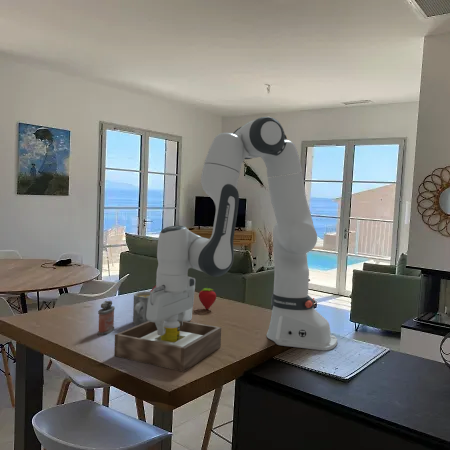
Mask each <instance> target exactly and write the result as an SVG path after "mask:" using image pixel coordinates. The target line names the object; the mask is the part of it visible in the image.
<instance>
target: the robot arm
mask: <svg viewBox="0 0 450 450" xmlns="http://www.w3.org/2000/svg"><path fill="white" fill-rule="evenodd" d="M255 158H261V160H263V162H264V165H265V167H266V175H267V182H268V184H267V185H268V189H269V191H268V192H269V196H270V203H271V205H272V208H273V212H274V215H275V220H276V223H275V224H274V226H273V229H272V247H273V263H274V265H273V266H274V276H273V277H274V279H273V280H274V281H273V292H272V295H271V301H270V302H271V303H270V305H271V315H270V316H271V318H270V322H269V326H268V330H267V333H266V337H267V338H268V339H269V340H271V341H272V342H274V343H275V344H276V345H278V346H284V347H291V348H292V347H293V348H300V349H301V348H302V349H310V350H319V351H331V350H332V349H334V348H335V347H336V346H337V345H338V338H337V337H336V336H335V335H333V334H331V327H330V323H329V321H328V320H327V319H326V317H324V316H323V315H321V313H320V312H318V311H317V310H316V309H315V308H314V305H315V297H311V296H310V295H309V280H310V270H309V265H308V259H307V257H308V256H307V253H309V252H311V251H313V249H314V248H315V247H316V245H317V242H318V233H317V231H316V228H315V226H314V221H313V218H312V217H313V216H312V214H311V211H310V207H309V204H308V200H307V195H306V189H305V183H304V176H303V169H302V168H303V167H302V165H301V159H300V156H299V152H298V150H297V147H296V145H295V143H294V142H292V141H291V140H288V138H287V135H286V134H285V131H284V128H283V126H282V124H281V123H280V122H279V120H277V119H276V118H274V117H270V116H263V117H258V118H256V119H253V120H250V121H248V122H247V123H245V124H244V125H242V126H240V127H237V129H236V130H234V132H220V133H219V134H217V135H216V136H214V138H213V140H212V143H211V144H210V147H209V148H208V151H207V154H206V157H205V160H204V163H203V167H202V170H201V171H202V172H201V176H200V185H201V188H202V190H203V192H204V193H205V194H206V195H207V196H208V197H210V199H212V200H213V203H214V206H215V215H214V221H213V226H212V227H213V228H212V233H211V236H210V238H207V237H203V236H200V235H198V234H197V233H194V232H192V231H191V230H189V228H187V226H185V225H171V226H166V227H165V228H163V229H161V231H160V233H159V235H158V240H157V249H156V250H157V251H156V252H157V253H156V258H157V263H158V264H157V269H156V279H155V280H156V281H155V283H156V284H155V285H156V288H154V289H153V291H152V293H151V294H150V296H149V298H148V303H147V312H146V318H147V320H148V321H149V322H154V323H155V325H156V327H157V334H158V335H160V336H162V335H164V334H165V333H166V332H165V331H166V328H164V326H163V324H164V320H165V319H168V318H170V317H172V316H175V315H177V314H178V319H177V321H178V322H179V323H180V327H181V326H182V325H183V319H184V316H185V311H186V310H189V309H191V308H192V306H193V307H194V301H195V300H194V299H195V292H194V287H193V286H194V285H195V286H196V278H195V277H192V276H188V274H189V273H188V272H189V270H190V269H193V270H197V271H199V272H203V273H204V274H205V275H208V276H210V277H214V278H217V277H221V276H224V275H225V274H226V273H227V272H228V271H229V270H230V269H231V267H232V266H233V263H234V256H235V251H234V239H235V233H236V232H235V231H236V224H237V219H238V218H237V217H238V210H239V203H240V194H239V191H238V184H239V183H238V182H239V178H240V173H241V170H242V165H243V163H244V160H252V159H255Z"/></svg>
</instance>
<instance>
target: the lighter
mask: <svg viewBox="0 0 450 450" xmlns="http://www.w3.org/2000/svg"><path fill="white" fill-rule="evenodd" d="M112 304H113V300H104V302H103V303H101V304H100V309H99V310H98V330H97V335H98V336H100V337H101V336H107V335H108V334H111V333H112V332H113V331H115V321H114V320H115V309H116V307H115V306H113V305H112Z"/></svg>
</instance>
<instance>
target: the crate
mask: <svg viewBox="0 0 450 450" xmlns="http://www.w3.org/2000/svg"><path fill="white" fill-rule="evenodd" d="M221 346H222V327H221V326H215V325H209V324H203V323H198V322H192V321H183V325H182V326H181V327H180V336H179V340H178V341H176V342H174V343H173V342H168V341H163V340H161V336H160V335H158V334H157V327H156V325H155V323H154V322H149V321H147V322H144V323H142V324H140V325H137V326H136V325H134V326H132V327H130V328H127V329H126V330H122V331H120V332H118V333H115V334H114V350H113V352H114V353H113V354H114V355H113V356H114V357H118V358H122V359H125V360H126V359H127V360H131V361H135V362H140V363H143V364H148V365H151V366H152V365H153V366H157V367H162V368H166V369H171V370H173V371H174V370H175V371H179V372H186V371H187V370H188V369H190V368H192V367H193V366H194V365H196V364H198V363H199V362H201V361H202V360H203V359H205V358H207V357H208V356H210V355H211V354H212V353H214V352H215V351H217V350H218V349H220V348H221Z"/></svg>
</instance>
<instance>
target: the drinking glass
mask: <svg viewBox="0 0 450 450" xmlns="http://www.w3.org/2000/svg"><path fill="white" fill-rule="evenodd" d="M193 287H194V293H195V289H196V284H195V285H194V286H193ZM193 308H194V305H193V306H192V308H191V309H189V310H186V311H185V316H184V319H183V321H187V322H191V320H192V318H193Z"/></svg>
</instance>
